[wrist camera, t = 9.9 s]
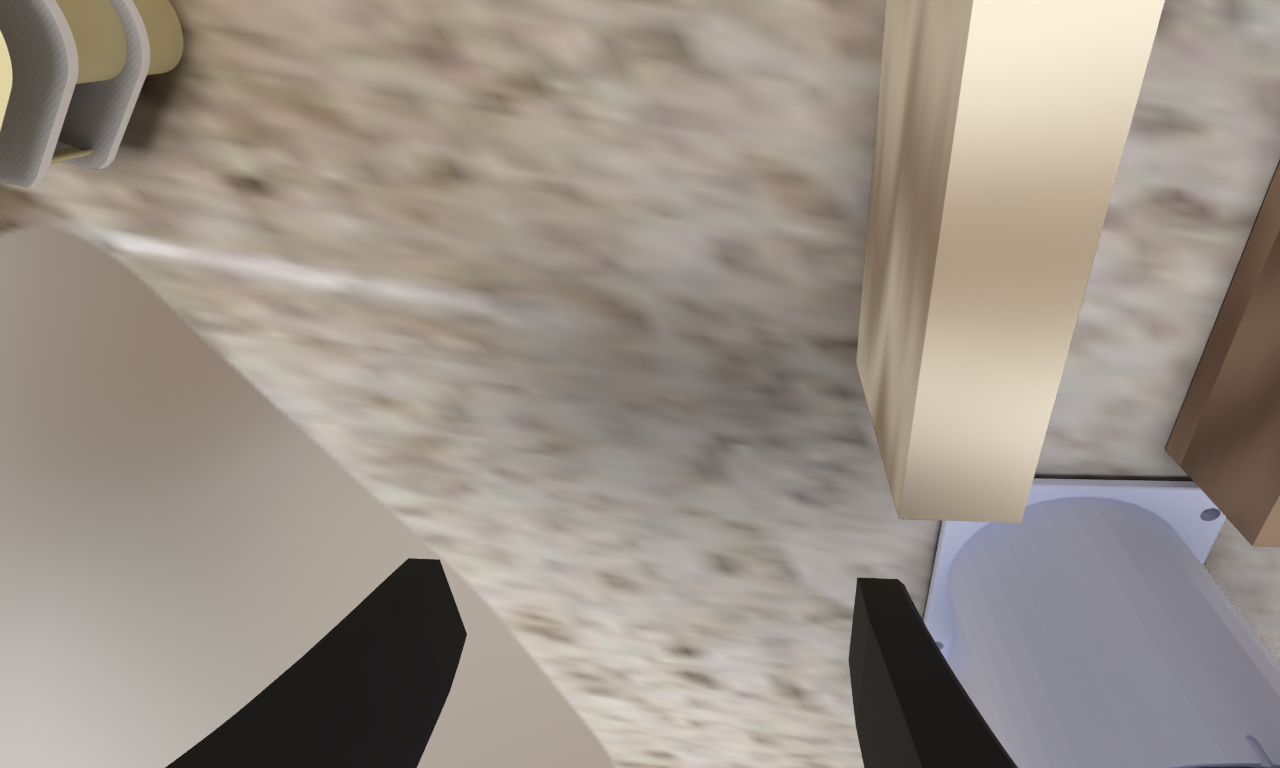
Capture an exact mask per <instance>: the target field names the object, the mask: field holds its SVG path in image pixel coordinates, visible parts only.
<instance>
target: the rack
mask: <svg viewBox="0 0 1280 768" xmlns="http://www.w3.org/2000/svg"><path fill="white" fill-rule="evenodd" d="M1165 450H1166V451H1167V452H1168V454H1169V455H1170V456H1171V457H1172V458H1173V459H1174V460H1175V461H1176V462H1177V463H1178V465H1179V466H1180V467H1181V468H1182V469H1183V470H1184V471H1185V472H1186V473H1187V474H1188V476H1189V477H1190V478H1191V479H1192V480H1193V481H1194V482H1195V483H1196V484H1197V485H1198V487H1199V488H1200V489H1201V490H1202V491H1203V492H1204V493H1205V494H1206V495H1207V496H1208V498H1209V499H1210V500H1211V501H1212V502H1213V503H1214V504H1215V505H1216V506H1217V507H1218V509H1219V510H1220V511H1221V512H1222V513H1223V514H1224V515H1225V516H1226V517H1227V518H1228V520H1229V521H1230V522H1231V523H1232V524H1233V525H1234V526H1235V527H1236V528H1237V529H1238V531H1239V532H1240V533H1241V534H1242V535H1243V536H1244V537H1245V538H1246V539H1247V540H1248V542H1249V543H1250V544H1251V545H1252V546H1269V547H1280V162H1279V165H1278V167H1277V170H1276V173H1275V175H1274V178H1273V180H1272V183H1271V185H1270V188H1269V190H1268V193H1267V195H1266V198H1265V200H1264V203H1263V205H1262V208H1261V210H1260V213H1259V215H1258V218H1257V220H1256V223H1255V225H1254V228H1253V230H1252V233H1251V235H1250V238H1249V240H1248V243H1247V245H1246V248H1245V251H1244V253H1243V256H1242V258H1241V261H1240V263H1239V266H1238V268H1237V271H1236V273H1235V276H1234V278H1233V281H1232V283H1231V286H1230V288H1229V291H1228V293H1227V296H1226V298H1225V301H1224V303H1223V306H1222V308H1221V311H1220V313H1219V316H1218V318H1217V321H1216V323H1215V326H1214V329H1213V331H1212V334H1211V336H1210V339H1209V341H1208V344H1207V346H1206V349H1205V351H1204V354H1203V356H1202V359H1201V361H1200V364H1199V366H1198V369H1197V371H1196V374H1195V376H1194V379H1193V381H1192V384H1191V386H1190V389H1189V391H1188V394H1187V396H1186V399H1185V401H1184V404H1183V407H1182V409H1181V412H1180V414H1179V417H1178V419H1177V422H1176V424H1175V427H1174V429H1173V432H1172V434H1171V437H1170V439H1169V442H1168V444H1167V447H1166V449H1165Z"/></svg>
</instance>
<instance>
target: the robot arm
mask: <svg viewBox="0 0 1280 768" xmlns="http://www.w3.org/2000/svg"><path fill="white" fill-rule="evenodd" d="M1207 509H1209V510H1207ZM1205 510H1207V511H1205ZM1203 511H1205V512H1203ZM1225 519H1226V516H1225V515H1224V514H1223V513H1222V512H1221V511H1220V510H1219V509H1218V507H1217V506H1216V505H1215V504H1214V503H1213V502H1212V501H1211V500H1210V499H1209V498H1208V496H1207V495H1206V494H1205V493H1204V492H1203V491H1202V490H1201V489H1200V488H1199V487H1198V485H1197V484H1196V483H1195V482H1189V481H1139V480H1088V479H1038V478H1034V479H1033V482H1032V486H1031V489H1030V493H1029V497H1028V500H1027V504H1026V508H1025V511H1024V515H1023V519H1022V522H1021V523H1001V522H971V521H942V526H941V531H940V537H939V542H938V547H937V552H936V558H935V563H934V568H933V573H932V579H931V584H930V589H929V594H928V600H927V605H926V610H925V615H924V621H923V620H922V618H921V616H920V615H919V613H918V611H917V609H916V607H915V605H914V603H913V601H912V599H911V598H910V596H909V594H908V592H907V590H906V587H905V585H904V584H903V583H901V582H900V581H899V580H898V579H878V578H857V587H856V596H855V606H854V615H853V624H852V634H851V643H850V652H849V667H850V676H851V686H852V696H853V705H854V713H855V722H856V729H857V734H858V738H859V743H860V748H861V753H862V758H863V763H864V768H1280V662H1279V661H1278V660H1277V659H1276V657H1275V656H1274V655H1273V654H1272V652H1271V651H1270V650H1269V649H1268V647H1267V646H1266V645H1265V644H1264V642H1263V641H1262V640H1261V638H1260V637H1259V636H1258V635H1257V633H1256V632H1255V631H1254V630H1253V628H1252V627H1251V626H1250V625H1249V623H1248V622H1247V621H1246V619H1245V618H1244V617H1243V616H1242V614H1241V613H1240V612H1239V611H1238V609H1237V608H1236V607H1235V606H1234V604H1233V603H1232V602H1231V600H1230V599H1229V598H1228V597H1227V595H1226V594H1225V593H1224V592H1223V590H1222V589H1221V588H1220V587H1219V585H1218V584H1217V583H1216V581H1215V580H1214V579H1213V578H1212V576H1211V575H1210V574H1209V573H1208V571H1207V570H1206V569H1205V568H1204V566H1203V564H1204V562H1205V560H1206V558H1207V556H1208V554H1209V552H1210V550H1211V548H1212V546H1213V544H1214V542H1215V540H1216V538H1217V536H1218V534H1219V532H1220V530H1221V528H1222V526H1223V523H1224V521H1225ZM466 636H467V633H466V631H465V628H464V625H463V622H462V619H461V617H460V614H459V611H458V609H457V606H456V603H455V600H454V598H453V595H452V592H451V590H450V587H449V584H448V581H447V578H446V576H445V573H444V570H443V568H442V565H441V562H440V560H434V559H410V558H409V559H408V560H406V561H405V562H404V563H403V564H402V565H401V566H400V567H399V568H398V569H396V570H395V571H394V572H393V573H392V574H391V575H390V576H389V577H388V578H387V579H386V580H385V581H384V582H383V583H381V584H380V585H379V586H378V587H377V588H376V589H375V590H374V591H373V592H372V593H371V594H370V595H369V596H368V597H367V598H365V599H364V600H363V601H362V602H361V603H360V604H359V605H358V606H357V607H356V608H355V609H354V610H353V611H352V612H351V613H350V614H348V616H346V617H345V618H344V619H343V620H342V621H341V622H340V623H339V624H338V625H337V626H335V628H333V629H332V630H331V631H330V632H329V633H328V634H327V635H326V636H325V637H324V638H322V639H321V640H320V641H319V642H318V643H317V644H316V645H315V646H314V647H313V648H311V649H310V650H309V651H308V652H307V653H306V654H305V655H304V656H303V657H302V658H301V659H300V660H298V661H297V662H296V663H295V664H293V665H292V666H291V667H290V668H289V669H288V670H286V671H285V672H284V673H283V674H282V675H281V676H279V678H277V679H276V680H275V681H274V682H272V684H270V685H269V686H268V687H267V688H266V689H264V690H263V691H262V692H261V693H260V694H258V695H257V696H256V697H255V698H254V699H253V700H252V701H250V702H249V703H248V704H247V705H246V706H244V708H242V709H241V710H240V711H238V712H237V713H236V714H235V715H233V716H232V717H231V718H230V719H229V720H227V721H226V722H225V723H224V724H223V725H221V726H220V727H219V728H217V729H216V730H215V731H213V732H212V733H211V734H210V735H208V736H207V737H206V738H204V739H203V740H202V741H200V742H199V743H198V744H197V745H195V746H194V747H192V748H191V749H190V750H188V751H187V752H186V753H184V754H183V755H182V756H181V757H179V758H178V759H176V760H175V761H174V762H173V763H171V764H170V765H168V766H167V767H166V768H417V766H418V763H419V761H420V759H421V756H422V754H423V752H424V750H425V747H426V745H427V743H428V741H429V738H430V736H431V734H432V732H433V729H434V727H435V724H436V722H437V720H438V718H439V715H440V713H441V711H442V708H443V706H444V704H445V701H446V699H447V696H448V694H449V692H450V689H451V686H452V683H453V679H454V676H455V673H456V670H457V667H458V664H459V660H460V657H461V653H462V650H463V646H464V643H465V639H466Z"/></svg>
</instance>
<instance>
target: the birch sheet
mask: <svg viewBox="0 0 1280 768" xmlns="http://www.w3.org/2000/svg"><path fill="white" fill-rule="evenodd" d="M1164 2H1165V0H887V2H886V14H885V26H884V38H883V50H882V62H881V73H880V85H879V97H878V109H877V121H876V133H875V145H874V157H873V168H872V180H871V192H870V204H869V216H868V228H867V240H866V252H865V264H864V275H863V287H862V299H861V311H860V323H859V335H858V347H857V359H856V364H857V368H858V372H859V375H860V379H861V383H862V386H863V390H864V394H865V397H866V401H867V405H868V408H869V412H870V415H871V419H872V423H873V426H874V430H875V434H876V437H877V441H878V445H879V448H880V452H881V456H882V459H883V463H884V467H885V470H886V474H887V478H888V481H889V485H890V489H891V492H892V496H893V499H894V503H895V507H896V510H897V514H898V518H899V519H910V520H940V521H971V522H1001V523H1021V522H1022V519H1023V515H1024V511H1025V508H1026V504H1027V500H1028V497H1029V493H1030V489H1031V486H1032V482H1033V479H1034V475H1035V471H1036V468H1037V464H1038V460H1039V457H1040V453H1041V449H1042V446H1043V442H1044V438H1045V435H1046V431H1047V428H1048V424H1049V420H1050V417H1051V413H1052V409H1053V406H1054V402H1055V398H1056V395H1057V391H1058V388H1059V384H1060V380H1061V377H1062V373H1063V369H1064V366H1065V362H1066V358H1067V355H1068V351H1069V347H1070V344H1071V340H1072V337H1073V333H1074V329H1075V326H1076V322H1077V318H1078V315H1079V311H1080V307H1081V304H1082V300H1083V296H1084V293H1085V289H1086V286H1087V282H1088V278H1089V275H1090V271H1091V267H1092V264H1093V260H1094V256H1095V253H1096V249H1097V246H1098V242H1099V238H1100V235H1101V231H1102V227H1103V224H1104V220H1105V216H1106V213H1107V209H1108V205H1109V202H1110V198H1111V195H1112V191H1113V187H1114V184H1115V180H1116V176H1117V173H1118V169H1119V165H1120V162H1121V158H1122V154H1123V151H1124V147H1125V144H1126V140H1127V136H1128V133H1129V129H1130V125H1131V122H1132V118H1133V114H1134V111H1135V107H1136V103H1137V100H1138V96H1139V93H1140V89H1141V85H1142V82H1143V78H1144V74H1145V71H1146V67H1147V63H1148V60H1149V56H1150V53H1151V49H1152V45H1153V42H1154V38H1155V34H1156V31H1157V27H1158V23H1159V20H1160V16H1161V12H1162V9H1163V5H1164Z"/></svg>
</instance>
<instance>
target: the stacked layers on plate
mask: <svg viewBox="0 0 1280 768" xmlns="http://www.w3.org/2000/svg"><path fill="white" fill-rule="evenodd" d="M183 45H184V41H183V33H182V28H181V25H180V22H179V19H178V16H177V14H176V12H175V10H174V8H173V6H172V5H171V3H170V2H169V0H0V182H2V183H7V184H12V185H17V186H22V187H32V186H35V185H39V184H40V183H41V182H42V181H43V180H44V179H45V178H46V175H47V172H48V169H49V166H50V164H53V163H57V162H63V163H68V164H73V165H78V166H83V167H88V168H93V169H101V168H105V167H108V166H109V165H110V164H111V163H112V162H113V161H114V159H115V156H116V153H117V151H118V148H119V146H120V143H121V140H122V138H123V135H124V133H125V130H126V127H127V125H128V122H129V120H130V117H131V115H132V112H133V109H134V107H135V104H136V102H137V99H138V96H139V94H140V91H141V89H142V86H143V83H144V81H145V78H146V76H147V75H152V74H160V73H166V72H168V71H170V70H172V69H173V68H175V67H176V66H177V64H178V63H179V61H180V59H181V57H182V53H183Z"/></svg>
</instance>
